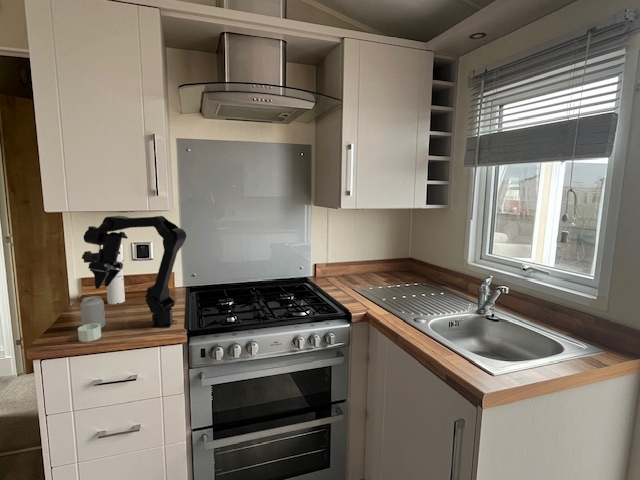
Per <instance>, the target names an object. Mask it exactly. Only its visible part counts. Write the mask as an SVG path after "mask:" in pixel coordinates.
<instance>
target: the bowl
mask: <svg viewBox="0 0 640 480" xmlns="http://www.w3.org/2000/svg"><path fill="white" fill-rule="evenodd" d="M77 332H78V333H77V334H78V341H79V342H82V343H85V342H93V341H96V340H98V339H100V338H101V337H102V329H101V326H100V324H97V323H94V324H86V325H83V326H82V325H81V326H79V327H77Z"/></svg>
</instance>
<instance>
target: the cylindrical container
mask: <svg viewBox="0 0 640 480" xmlns="http://www.w3.org/2000/svg"><path fill="white" fill-rule="evenodd" d="M119 252H120V254H118V257H117V262H122V264H123V249H122V248H121V247H120V249H119ZM123 265H124V264H123ZM117 269H118V268H117ZM118 270H121V271H120V272H119V273H118V274H117V275H116V277H115V278H114V279H113V280H112V282H111V283H110V284H109V286H105V287H106V295H107V296H106V297H107V299H106V300H107V301H106V302H107V304H109V305H117V303H119V304H122V303H125V301H126V298H125V296H126V295H125V281H124V267H123V268H122V269H118Z"/></svg>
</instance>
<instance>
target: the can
mask: <svg viewBox="0 0 640 480" xmlns="http://www.w3.org/2000/svg"><path fill="white" fill-rule="evenodd" d="M79 306H80V317H81V326H83V325H86V324H94V323H97V324H100V326H101V330H102V329H103V328H104V326H106V316H105V304H104V300H103V299H102V297H101V296H99V295H93V296H88V297H84V298H82V299H81V302H80V304H79Z"/></svg>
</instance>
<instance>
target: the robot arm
mask: <svg viewBox="0 0 640 480" xmlns="http://www.w3.org/2000/svg"><path fill="white" fill-rule="evenodd" d="M151 227H153V228H154V229H155V230H156V231H157V234H158V235H159V236H160V237H161V238H162V246H163V252H162V253H163V254H162V257H161V261H160V265H159V268H158V272H157V275H156V279H155V283H154V284H153V285H151V286H149V287H147V289H146V294H145V296H144V298H145V303H146V304H147V306H148V308H149V311H150V314H151V313H152V314H151V315H152V317H151V320H152V322H151V323H152V326H151V327H152V328H156V329H157V328H170V327H171V326H172V324H173V323H174V322H175V320H174V319H173V307H174V306H175V304H176V302H175V300H174V299H173V298H172V297H171V296H170V288H169V282H170V278H171V277H172V273H173V269H174V265H175V262H176V259H177V254H178V253H179V251H180V250H181V249H182V247H183V246H184V243H185V242H186V239H187V233H186V231H185V230H184V229H183V228H180V227H179V226H177V225H176V224H175V223H173V222H171V221H170V220H168V219H167V218H166V217H165V216H163V215H157V216H156V215H155V216H144V217H143V216H142V217H141V216H140V217H128V216H124V215H112V216H106V217H104V218H103V221H102V222H101V224H100V225H99V226H98V227H96V226H93V225H92V226H88V227H87V228H88V229H86V231H85V233H84V234H83V240H84V242H85V243H86V244H91V245H96V246H102V248H99V250H98V252H92V251H90V250H89V251H84V252H83V254H82V255H81V259H82V260H83V263H84V264H86V263H87V264H88V267H87V269H89V271H90V272H91V273H93V276H94V277H93V278H94V286H95V289H96V290H99V289H100V288H101V286H102V285H103V284H104V287H106V286H109V284H110V283H111V282H112V280H113V279H114V278H115V277H116V275H117V274H118V273H119V272H120V271H121V270H118V269H122V268H123V269H124V264H122V262H123V261H122V262H117V257H118V254H120V252H119V249H120V248H121V245H122V239H126V240H127V239H128V238H129V237H128V236H127V234H125V233H126V232H124V231H122V230H125V229H129V228H151ZM116 231H117V232H116ZM118 231H119V232H118ZM117 268H118V269H117Z"/></svg>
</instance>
